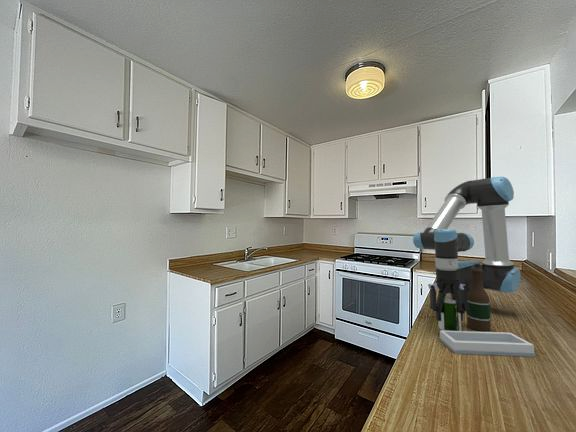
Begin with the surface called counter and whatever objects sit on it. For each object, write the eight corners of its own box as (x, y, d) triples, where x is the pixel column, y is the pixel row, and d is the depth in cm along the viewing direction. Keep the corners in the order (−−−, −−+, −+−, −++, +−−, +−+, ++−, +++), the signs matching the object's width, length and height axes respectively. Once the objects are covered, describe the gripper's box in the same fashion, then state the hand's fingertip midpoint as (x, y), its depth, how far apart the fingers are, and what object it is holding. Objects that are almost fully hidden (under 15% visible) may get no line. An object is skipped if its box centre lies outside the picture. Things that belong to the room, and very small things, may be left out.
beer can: (444, 332, 94) (442, 300, 94) (440, 326, 99) (438, 296, 99) (460, 333, 92) (458, 301, 93) (455, 327, 97) (454, 297, 98)
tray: (439, 339, 91) (439, 330, 91) (510, 342, 88) (509, 332, 89) (454, 353, 81) (454, 342, 81) (535, 356, 78) (534, 345, 79)
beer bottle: (488, 326, 102) (485, 268, 104) (494, 333, 95) (491, 271, 97) (465, 323, 106) (463, 266, 107) (469, 330, 99) (467, 269, 100)
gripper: (426, 270, 94) (429, 333, 93) (478, 270, 92) (482, 333, 91) (418, 267, 101) (420, 324, 100) (466, 266, 99) (469, 325, 98)
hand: (449, 329), depth 96 cm, fingers closed on beer can, 5 cm apart
